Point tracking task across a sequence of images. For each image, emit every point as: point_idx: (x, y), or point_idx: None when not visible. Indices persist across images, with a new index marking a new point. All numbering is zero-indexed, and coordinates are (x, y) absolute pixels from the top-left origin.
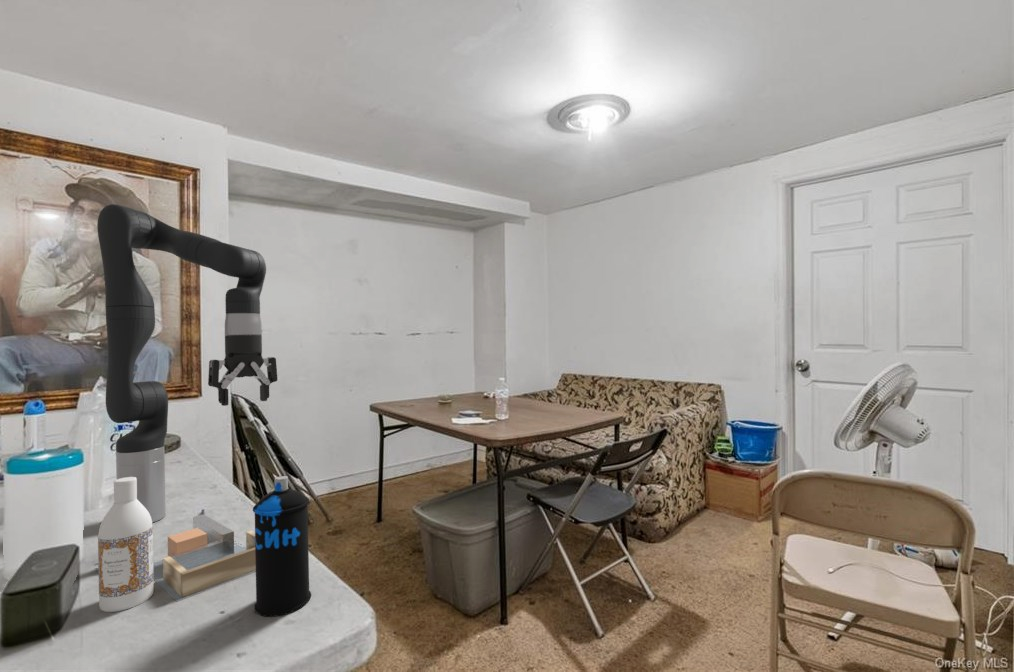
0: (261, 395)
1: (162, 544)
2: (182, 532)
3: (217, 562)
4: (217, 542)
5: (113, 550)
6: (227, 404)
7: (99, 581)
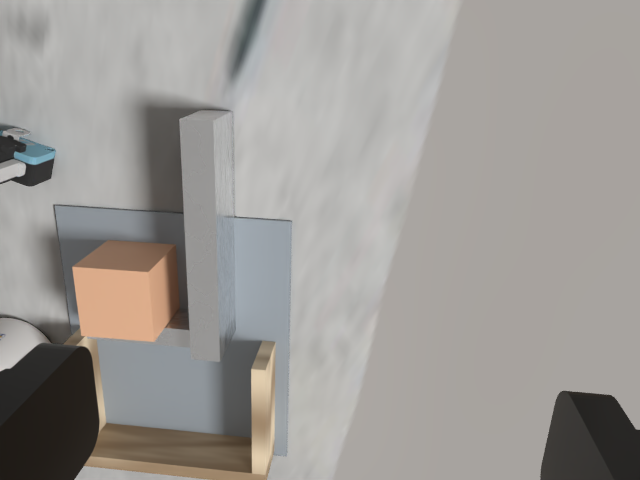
0: (578, 477)
1: (126, 73)
2: (108, 271)
3: (137, 471)
4: (186, 339)
5: None
6: (86, 443)
7: None
